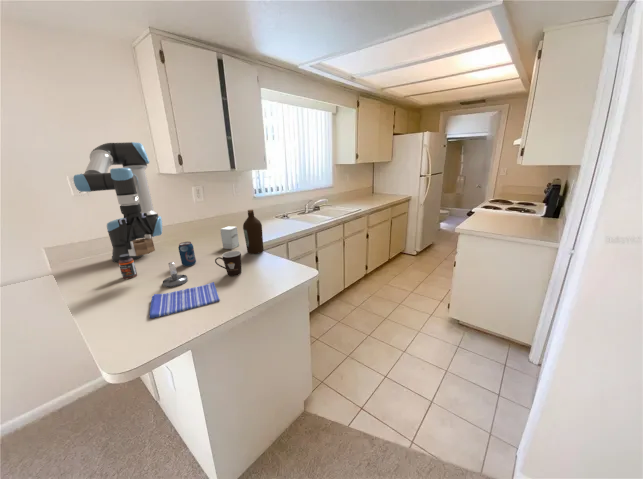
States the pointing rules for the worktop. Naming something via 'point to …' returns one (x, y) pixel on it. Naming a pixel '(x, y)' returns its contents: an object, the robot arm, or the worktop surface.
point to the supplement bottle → (127, 266)
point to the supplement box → (229, 237)
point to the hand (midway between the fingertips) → (142, 251)
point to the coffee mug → (231, 262)
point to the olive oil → (253, 234)
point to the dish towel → (183, 300)
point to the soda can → (187, 254)
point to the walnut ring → (143, 246)
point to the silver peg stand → (174, 277)
